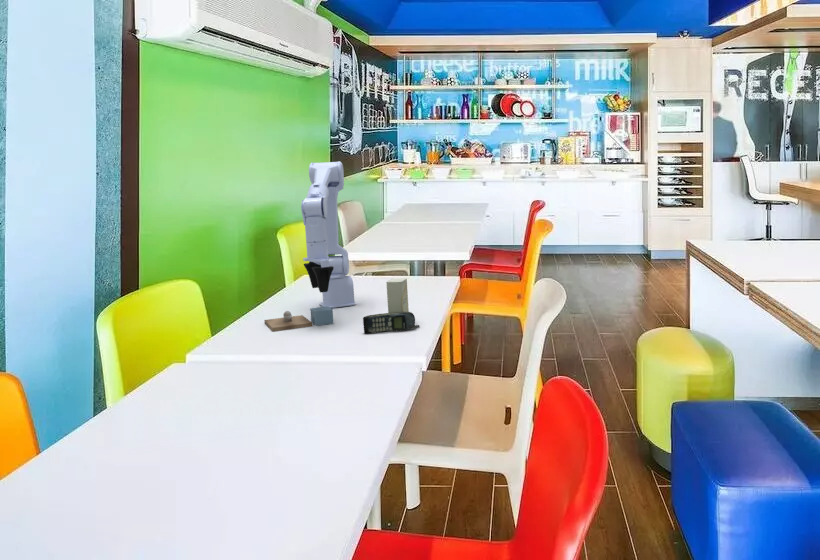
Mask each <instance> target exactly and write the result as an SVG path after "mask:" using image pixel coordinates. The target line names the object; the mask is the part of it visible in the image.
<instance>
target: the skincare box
mask: <svg viewBox="0 0 820 560" xmlns="http://www.w3.org/2000/svg"><path fill="white" fill-rule="evenodd" d="M407 279H408V278H407V277H406V278H405V277H404V278H403V277H402V278H401V277H400V278H398V277H397V278H394V277H393V278H391V279H389V280H387V281H386V294H387V296H386V297H387V313H393V312H410V308H409V297H408V292H409V291H408V280H407Z"/></svg>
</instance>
